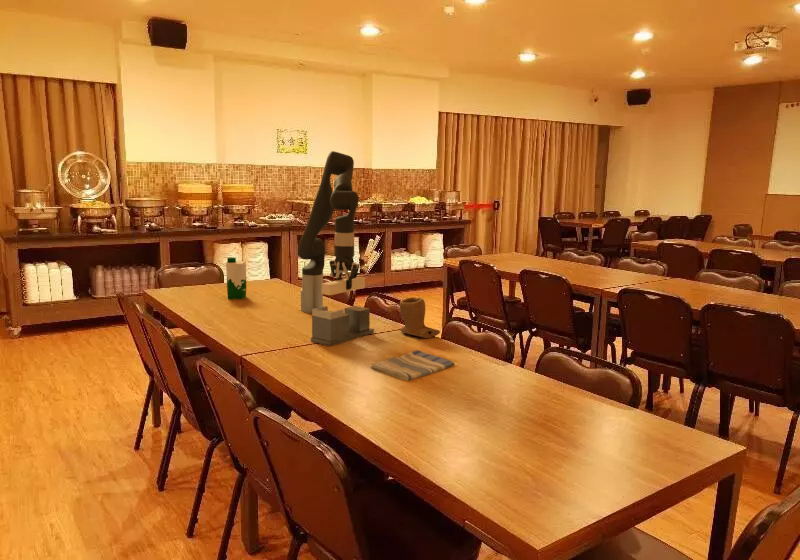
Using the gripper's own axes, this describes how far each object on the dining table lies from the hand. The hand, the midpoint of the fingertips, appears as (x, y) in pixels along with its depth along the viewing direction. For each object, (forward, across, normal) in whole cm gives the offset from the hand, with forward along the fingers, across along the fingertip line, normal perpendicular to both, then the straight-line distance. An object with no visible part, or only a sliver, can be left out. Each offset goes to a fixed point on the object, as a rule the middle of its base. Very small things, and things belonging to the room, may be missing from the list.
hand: (344, 288), depth 233 cm
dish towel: (+20, +42, -12) cm, 48 cm away
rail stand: (+19, 0, 0) cm, 19 cm away
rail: (+1, 0, 0) cm, 1 cm away
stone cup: (+19, +20, +20) cm, 35 cm away
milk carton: (+20, -88, +18) cm, 92 cm away
